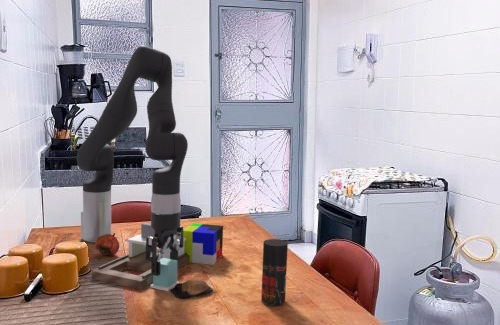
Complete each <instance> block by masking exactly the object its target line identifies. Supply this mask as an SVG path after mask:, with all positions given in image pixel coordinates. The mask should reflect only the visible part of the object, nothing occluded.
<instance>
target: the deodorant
mask: <svg viewBox="0 0 500 325" xmlns="http://www.w3.org/2000/svg"><path fill="white" fill-rule="evenodd" d="M262 244H263V247H262V275H261V295H260V296H261V298H260V301H261V303H262V304H264V305H266V306H268V307H279V306H282V305H284V304H285V303H286V291H287V290H286V287H287V269H288V268H287V266H288V246H289V242H287V241H286V240H283V239H277V238H270V239H265V240H264V241H263V243H262Z"/></svg>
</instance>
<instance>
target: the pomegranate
mask: <svg viewBox="0 0 500 325" xmlns="http://www.w3.org/2000/svg"><path fill="white" fill-rule="evenodd" d="M115 235H116V233H115V232H114V233H113V234H112V233H111V234H105V235H102V236H100V237H98V238H97V240H96V242H95V249H96V250H98V252H99V253H100V255H99V256H98V258H97V260H100V259H101V257H102V256H108V257H109V256H110V257H114V256H115V255H117V253H118V252H119V250H120V242H119V240H118V238H117V237H116V236H115Z"/></svg>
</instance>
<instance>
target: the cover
mask: <svg viewBox="0 0 500 325" xmlns="http://www.w3.org/2000/svg"><path fill="white" fill-rule="evenodd" d="M154 234H155V230H154V229H153V228H152V227H151V222H150V223H149V222H144V223H141V224H140V234H138V235H135V236H133V237H130V238H127V243H128V254H129V257H134V256H136V255H138V254H140V253H143V252H145V251H146V238H147V237H154ZM177 240H178V242H179V243H180V240H179V239H177ZM185 241H186V238H185V237H183V248H180V251H179V252H178V257H179V256H181V255H183V254H184V246H185ZM170 251H171V250H170V249H169V247H168V248H167V249H166V250H165V253H164V254H163V258H167V259H170Z"/></svg>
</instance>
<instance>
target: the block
mask: <svg viewBox="0 0 500 325" xmlns="http://www.w3.org/2000/svg"><path fill="white" fill-rule="evenodd" d="M177 282H178V269H177V260H172V259H167V258H162V259H160V275H159V276H155V275H153V283H152V284H153V285H156V286H161V287H166V288H168V287H170V286H172V285H173V284H175V283H177Z"/></svg>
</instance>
